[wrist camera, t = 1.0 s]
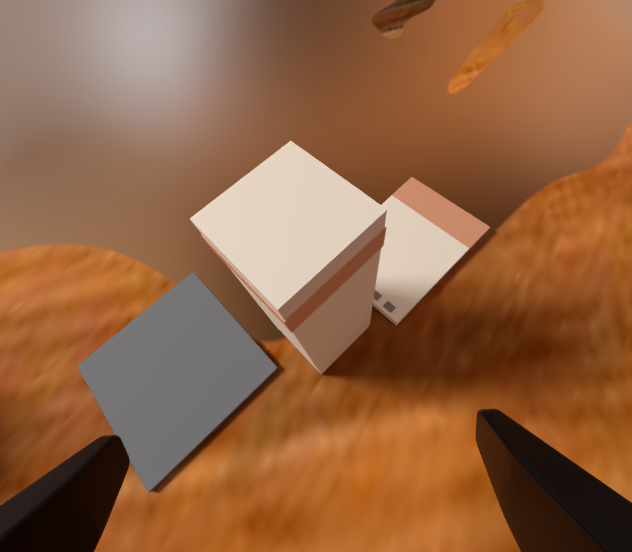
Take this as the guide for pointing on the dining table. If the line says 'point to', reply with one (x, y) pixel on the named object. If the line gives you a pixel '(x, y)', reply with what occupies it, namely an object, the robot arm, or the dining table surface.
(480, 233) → the cream block pink end
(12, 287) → the dining table surface
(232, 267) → the beige tall block
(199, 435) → the mat
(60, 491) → the robot arm
